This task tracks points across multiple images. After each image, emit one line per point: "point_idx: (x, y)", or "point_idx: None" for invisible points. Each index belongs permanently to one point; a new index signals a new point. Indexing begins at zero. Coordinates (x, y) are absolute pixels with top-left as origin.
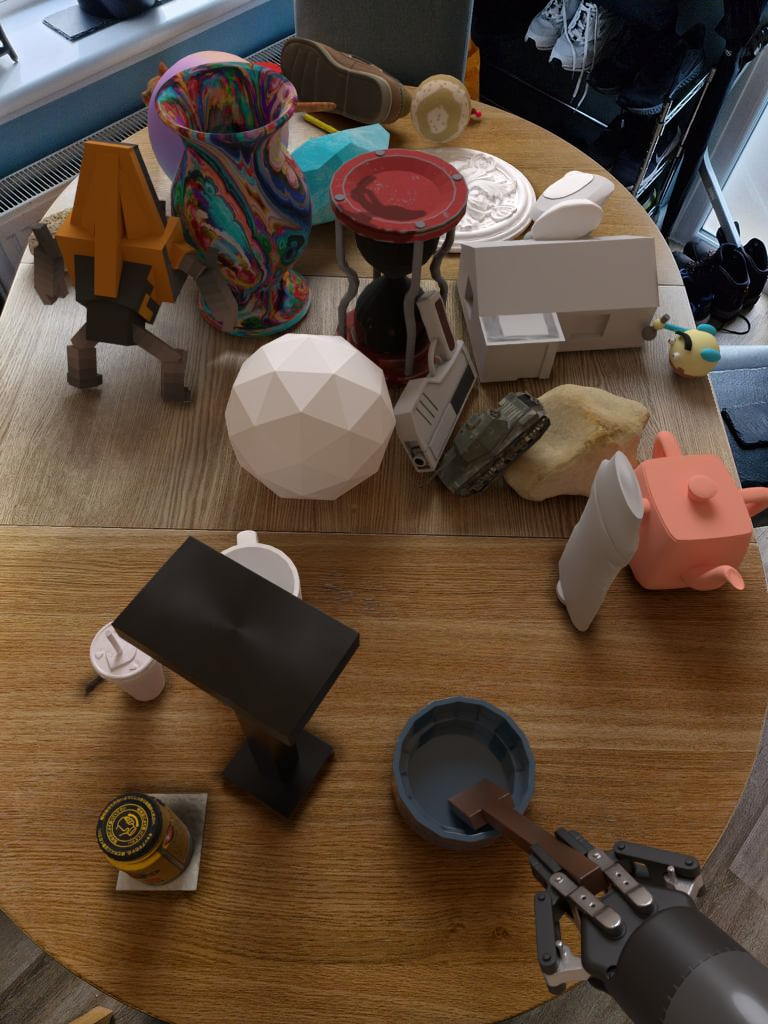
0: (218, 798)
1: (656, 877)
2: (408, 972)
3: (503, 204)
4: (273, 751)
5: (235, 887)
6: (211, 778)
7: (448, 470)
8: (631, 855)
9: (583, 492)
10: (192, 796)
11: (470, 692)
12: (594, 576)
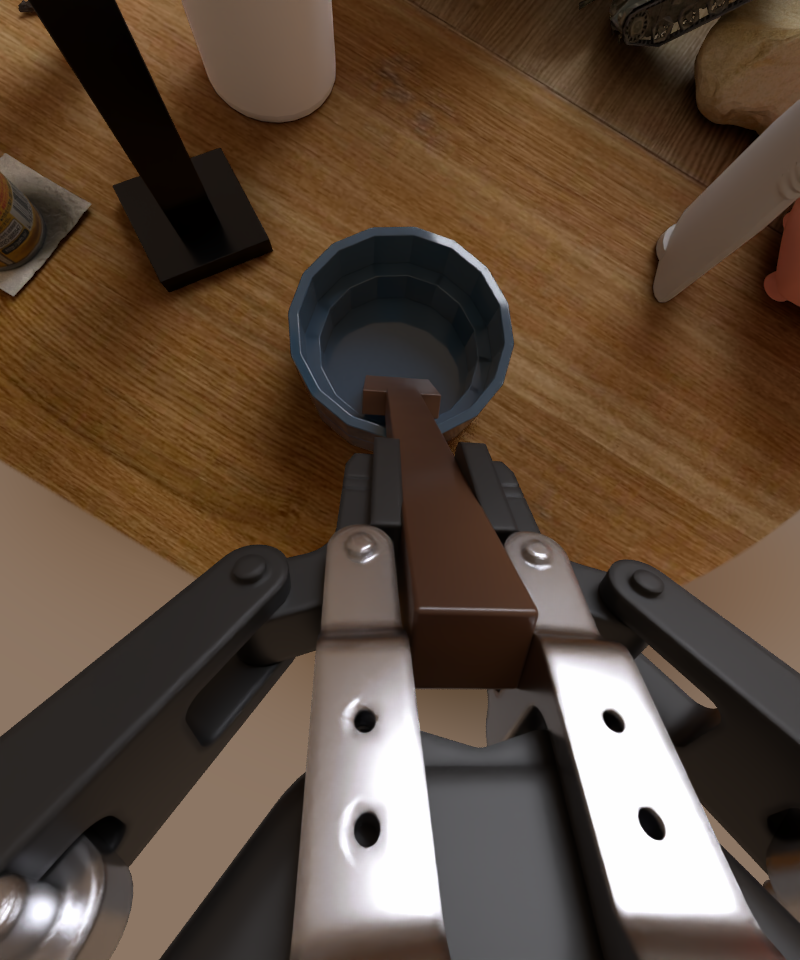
0: (104, 219)
1: (725, 773)
2: (203, 524)
3: None
4: (76, 67)
5: (63, 322)
6: (110, 194)
7: (631, 2)
8: (683, 643)
9: None
10: (73, 197)
11: None
12: (793, 161)
